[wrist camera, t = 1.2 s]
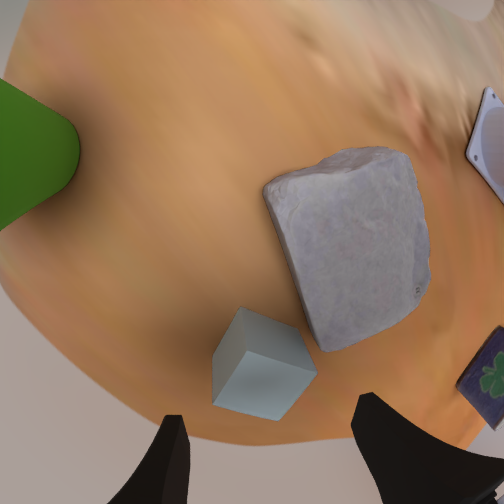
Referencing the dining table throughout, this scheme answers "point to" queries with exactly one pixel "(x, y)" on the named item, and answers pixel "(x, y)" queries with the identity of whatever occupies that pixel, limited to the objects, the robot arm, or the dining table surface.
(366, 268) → the stone block
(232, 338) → the cube
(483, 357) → the flask
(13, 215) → the cup
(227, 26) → the dining table surface
